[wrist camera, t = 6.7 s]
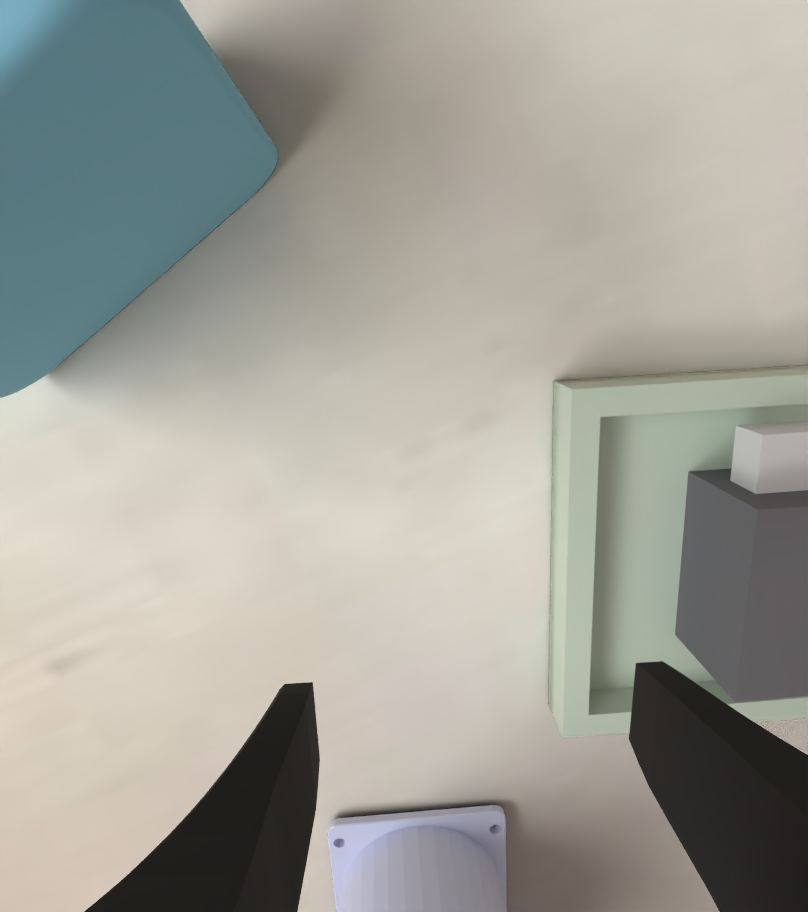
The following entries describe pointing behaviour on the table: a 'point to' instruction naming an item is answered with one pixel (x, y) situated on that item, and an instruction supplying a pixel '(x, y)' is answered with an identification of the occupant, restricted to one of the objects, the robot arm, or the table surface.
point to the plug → (749, 565)
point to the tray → (640, 528)
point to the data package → (107, 165)
